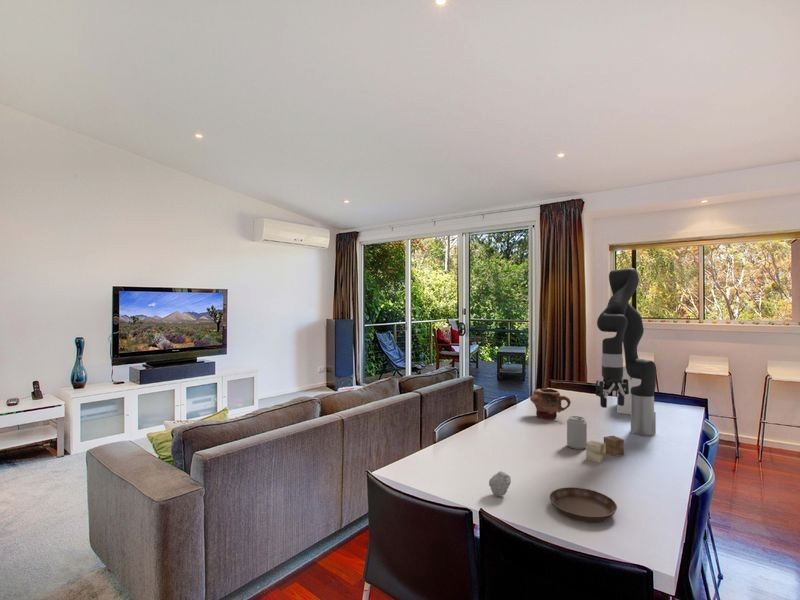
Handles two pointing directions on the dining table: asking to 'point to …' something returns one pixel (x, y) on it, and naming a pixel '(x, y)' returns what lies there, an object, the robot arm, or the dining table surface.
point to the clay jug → (548, 403)
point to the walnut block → (614, 445)
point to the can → (576, 432)
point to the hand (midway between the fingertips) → (612, 406)
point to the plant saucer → (583, 504)
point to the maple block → (595, 451)
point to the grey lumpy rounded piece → (500, 483)
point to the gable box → (627, 398)
